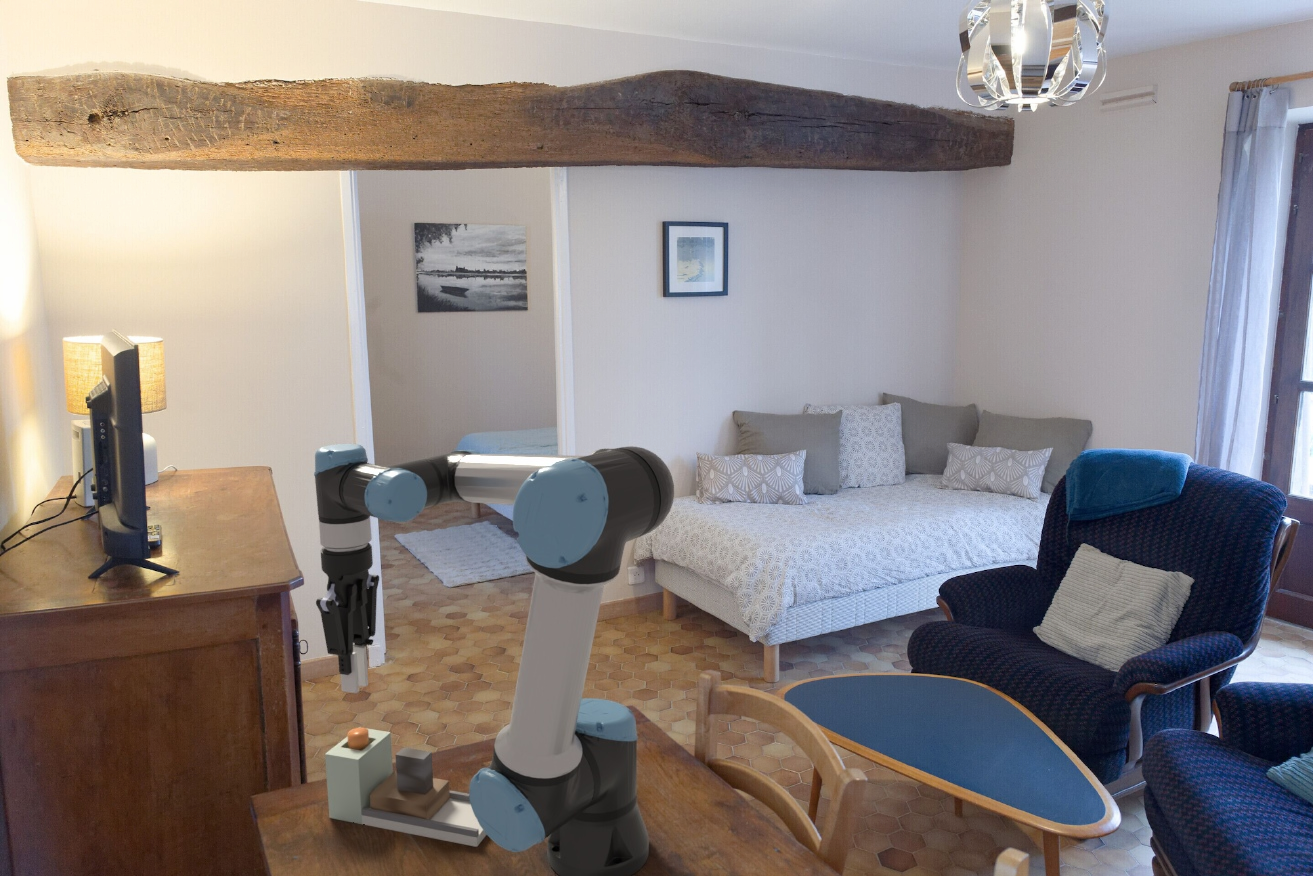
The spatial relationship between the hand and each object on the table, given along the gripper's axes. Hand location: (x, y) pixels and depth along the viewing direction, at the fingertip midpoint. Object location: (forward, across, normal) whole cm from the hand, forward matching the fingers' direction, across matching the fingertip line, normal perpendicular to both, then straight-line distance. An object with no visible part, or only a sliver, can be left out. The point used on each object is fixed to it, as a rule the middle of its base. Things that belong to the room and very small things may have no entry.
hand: (355, 687), depth 146 cm
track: (+20, 0, +13) cm, 24 cm away
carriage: (+19, 0, +9) cm, 21 cm away
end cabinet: (+20, 0, 0) cm, 20 cm away
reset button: (+10, 0, 0) cm, 10 cm away
